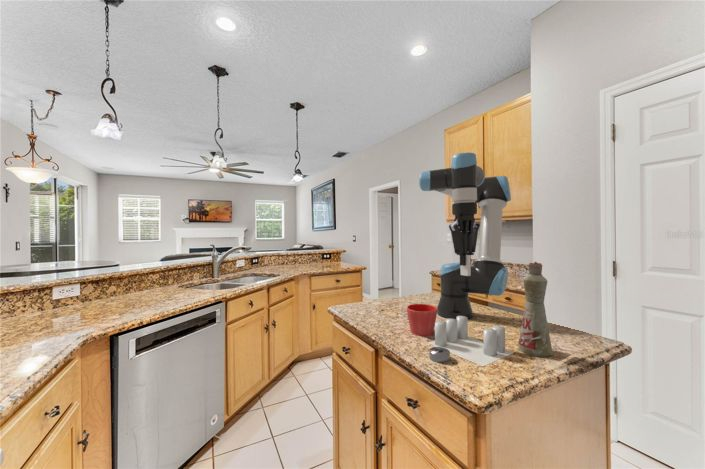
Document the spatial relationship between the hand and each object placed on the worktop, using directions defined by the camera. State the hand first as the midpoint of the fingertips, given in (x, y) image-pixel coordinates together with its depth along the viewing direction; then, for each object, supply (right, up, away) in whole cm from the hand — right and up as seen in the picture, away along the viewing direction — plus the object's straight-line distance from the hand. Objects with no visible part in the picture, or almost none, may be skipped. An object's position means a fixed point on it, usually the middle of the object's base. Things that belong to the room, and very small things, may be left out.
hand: (465, 275), depth 93 cm
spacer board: (0, -23, -2) cm, 23 cm away
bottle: (+19, -23, -6) cm, 31 cm away
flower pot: (-11, -23, +12) cm, 28 cm away
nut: (-11, -24, -10) cm, 28 cm away
